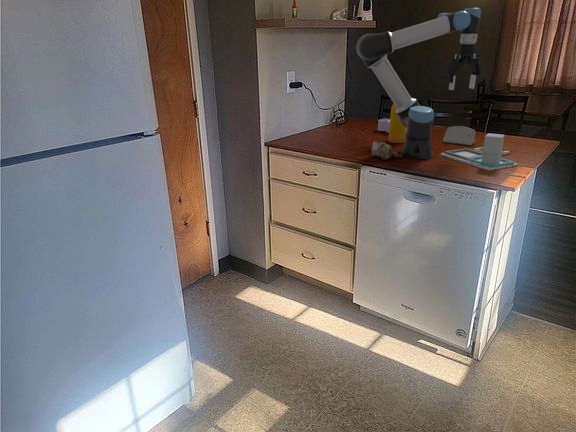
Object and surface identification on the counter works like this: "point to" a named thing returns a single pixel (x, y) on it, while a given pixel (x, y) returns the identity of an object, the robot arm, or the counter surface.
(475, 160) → the pocket plate
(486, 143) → the supplement box
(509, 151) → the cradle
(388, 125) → the clip
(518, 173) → the counter surface
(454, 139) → the gray curved slotted casing
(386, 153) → the ceramic sculpture
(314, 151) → the counter surface
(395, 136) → the beer bottle
